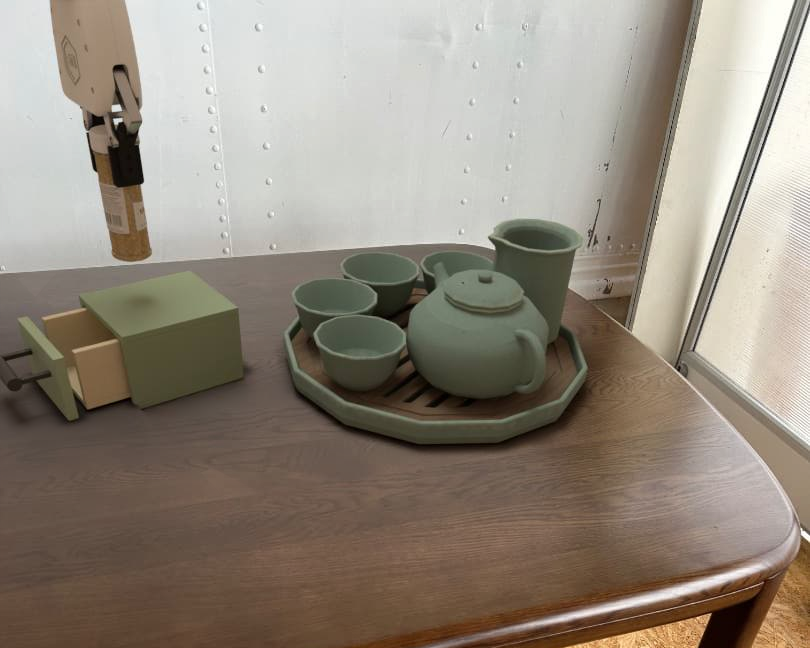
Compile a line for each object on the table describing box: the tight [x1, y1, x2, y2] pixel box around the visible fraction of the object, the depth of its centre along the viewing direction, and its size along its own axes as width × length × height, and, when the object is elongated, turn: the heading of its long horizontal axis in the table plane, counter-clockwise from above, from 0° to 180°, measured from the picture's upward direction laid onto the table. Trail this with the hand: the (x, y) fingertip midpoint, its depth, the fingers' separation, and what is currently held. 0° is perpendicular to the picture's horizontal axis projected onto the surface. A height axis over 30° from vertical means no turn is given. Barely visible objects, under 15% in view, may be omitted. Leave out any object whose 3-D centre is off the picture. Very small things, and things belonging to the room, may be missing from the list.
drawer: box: [0, 307, 131, 421], centre depth 92 cm, size 18×11×8 cm, turn 128°
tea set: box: [282, 218, 589, 445], centre depth 101 cm, size 40×40×16 cm
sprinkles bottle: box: [88, 123, 153, 263], centre depth 86 cm, size 5×5×14 cm
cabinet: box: [78, 270, 245, 410], centre depth 98 cm, size 15×13×10 cm
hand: (118, 175), depth 85 cm, fingers closed on sprinkles bottle, 4 cm apart
